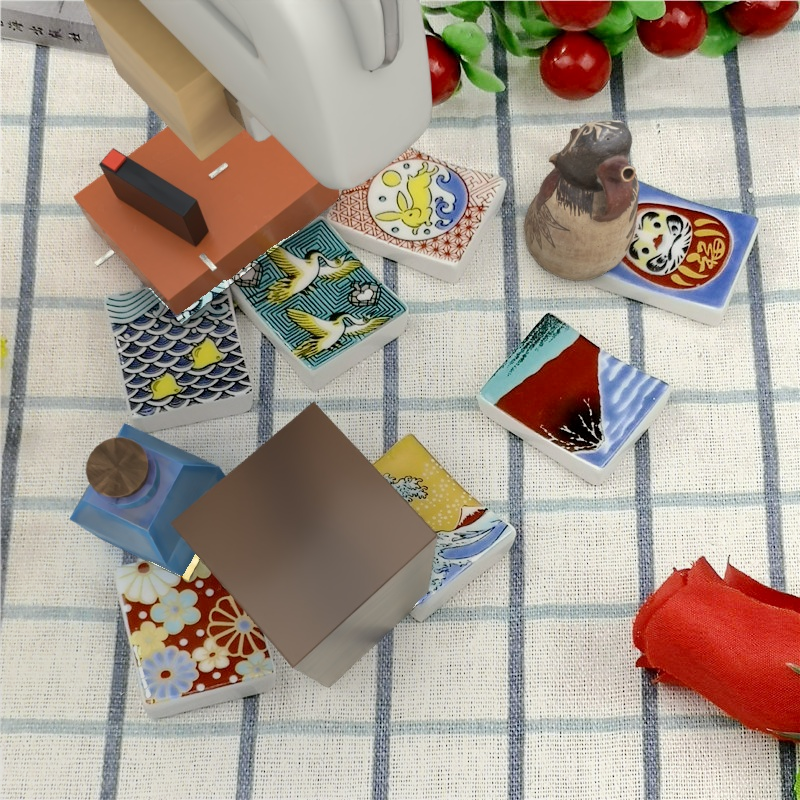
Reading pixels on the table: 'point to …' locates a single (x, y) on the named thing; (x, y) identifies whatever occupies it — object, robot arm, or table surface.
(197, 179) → the block
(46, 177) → the table surface
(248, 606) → the block
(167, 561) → the perfume bottle
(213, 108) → the wood block
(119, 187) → the black battery block
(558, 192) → the figurine
